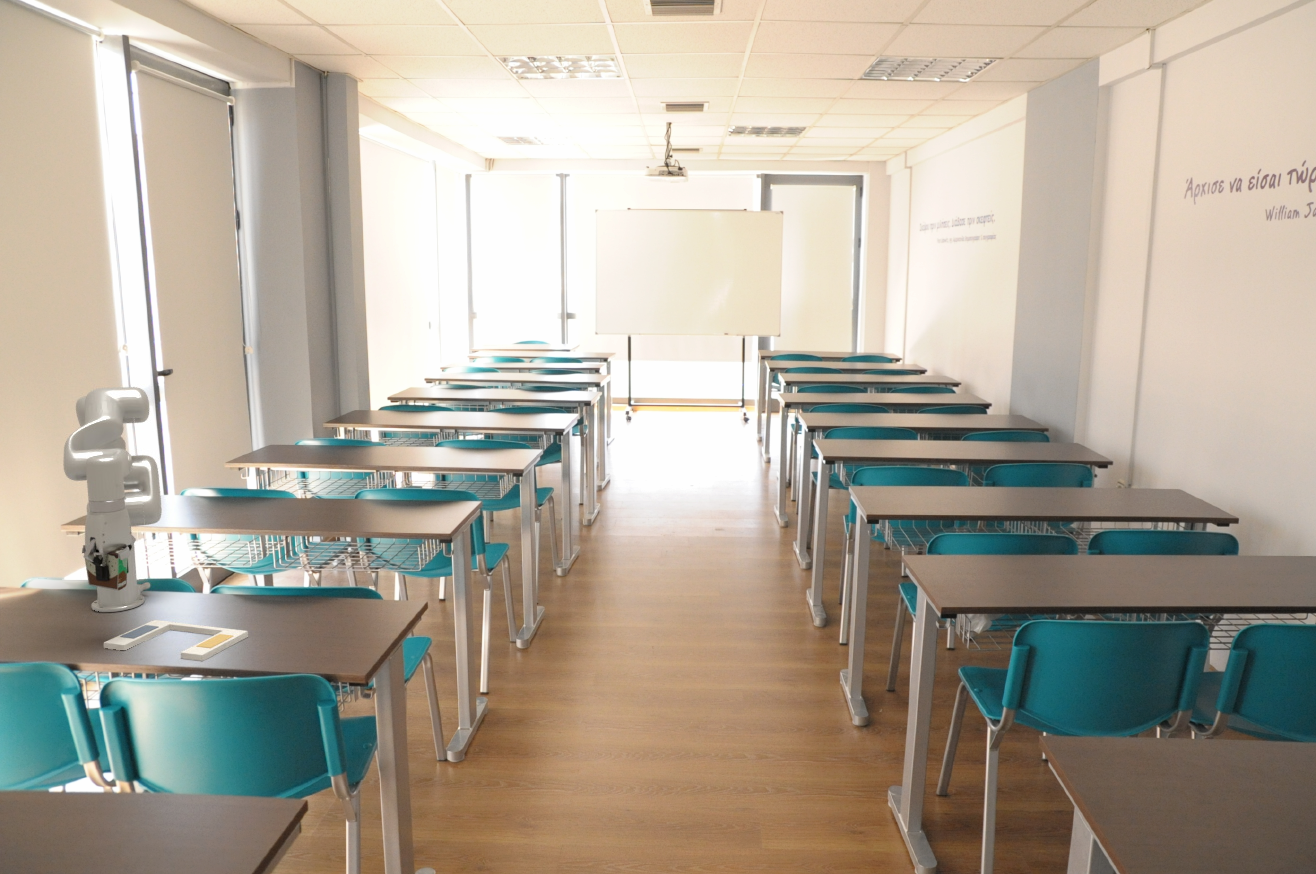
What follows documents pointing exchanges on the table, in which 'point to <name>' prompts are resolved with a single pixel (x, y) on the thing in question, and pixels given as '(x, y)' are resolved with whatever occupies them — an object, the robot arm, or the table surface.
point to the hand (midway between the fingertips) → (112, 576)
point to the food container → (111, 569)
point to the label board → (197, 652)
